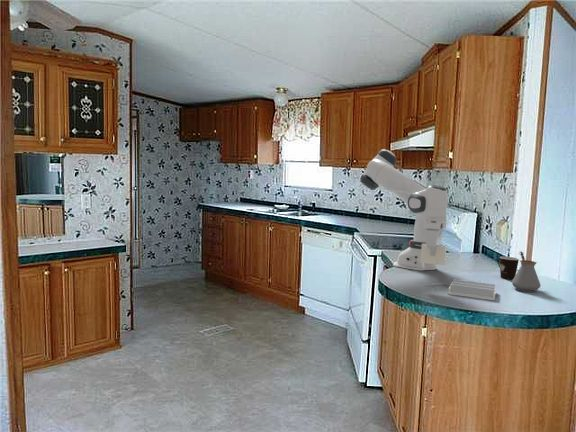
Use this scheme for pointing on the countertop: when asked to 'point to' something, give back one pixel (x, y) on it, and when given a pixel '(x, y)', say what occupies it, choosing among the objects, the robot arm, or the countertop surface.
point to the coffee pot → (526, 276)
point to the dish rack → (472, 289)
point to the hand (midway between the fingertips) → (433, 255)
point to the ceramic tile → (437, 259)
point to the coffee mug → (508, 267)
